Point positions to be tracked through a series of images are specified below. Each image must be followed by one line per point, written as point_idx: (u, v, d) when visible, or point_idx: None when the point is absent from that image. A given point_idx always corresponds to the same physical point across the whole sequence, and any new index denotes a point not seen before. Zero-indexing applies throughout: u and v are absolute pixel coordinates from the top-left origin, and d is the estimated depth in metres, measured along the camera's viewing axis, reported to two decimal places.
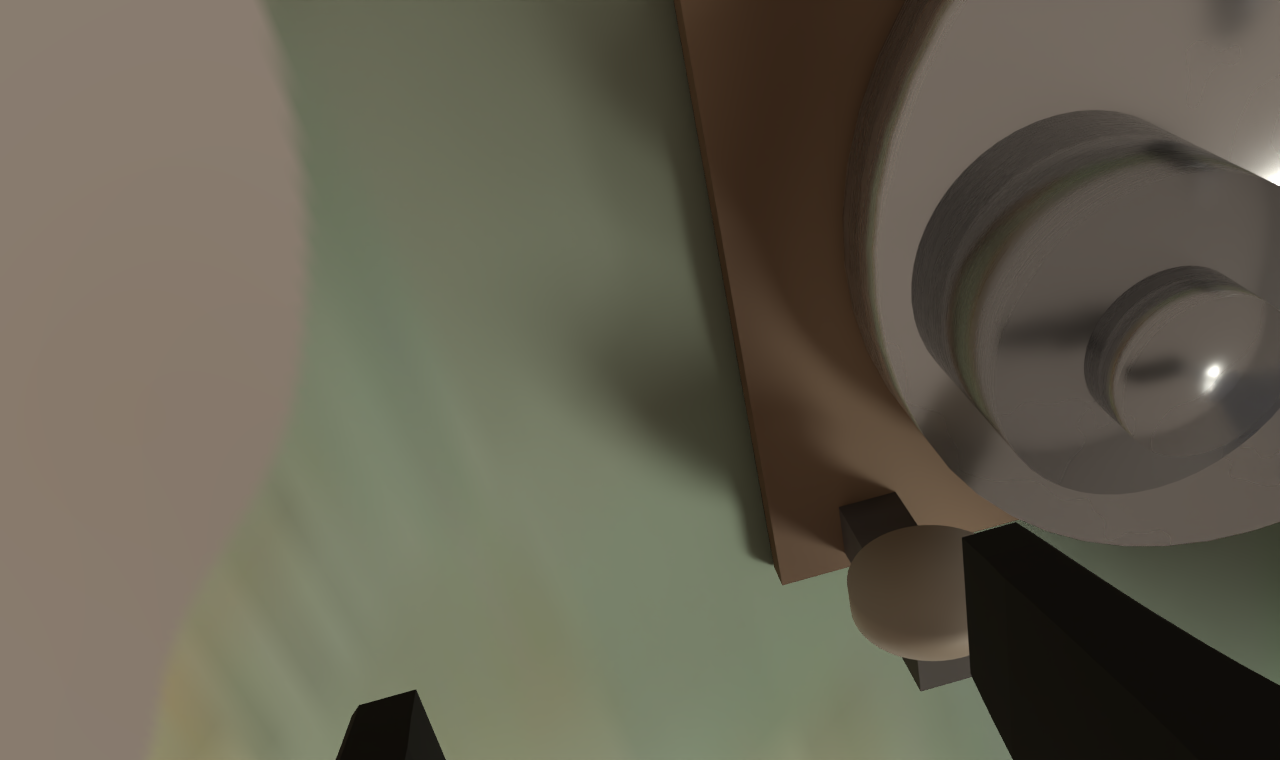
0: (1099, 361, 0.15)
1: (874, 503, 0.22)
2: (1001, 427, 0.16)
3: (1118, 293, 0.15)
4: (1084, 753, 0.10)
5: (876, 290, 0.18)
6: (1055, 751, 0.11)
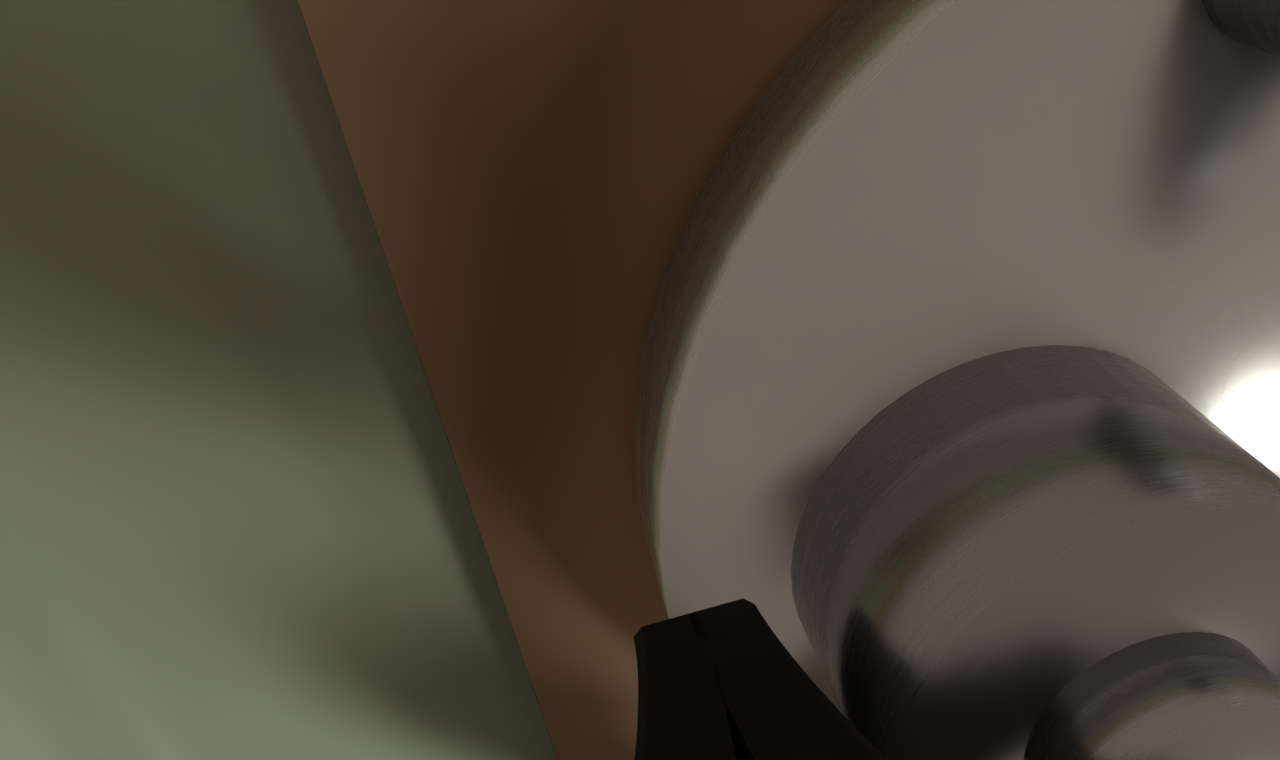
0: None
1: None
2: None
3: (1074, 674, 0.10)
4: None
5: (666, 598, 0.13)
6: None
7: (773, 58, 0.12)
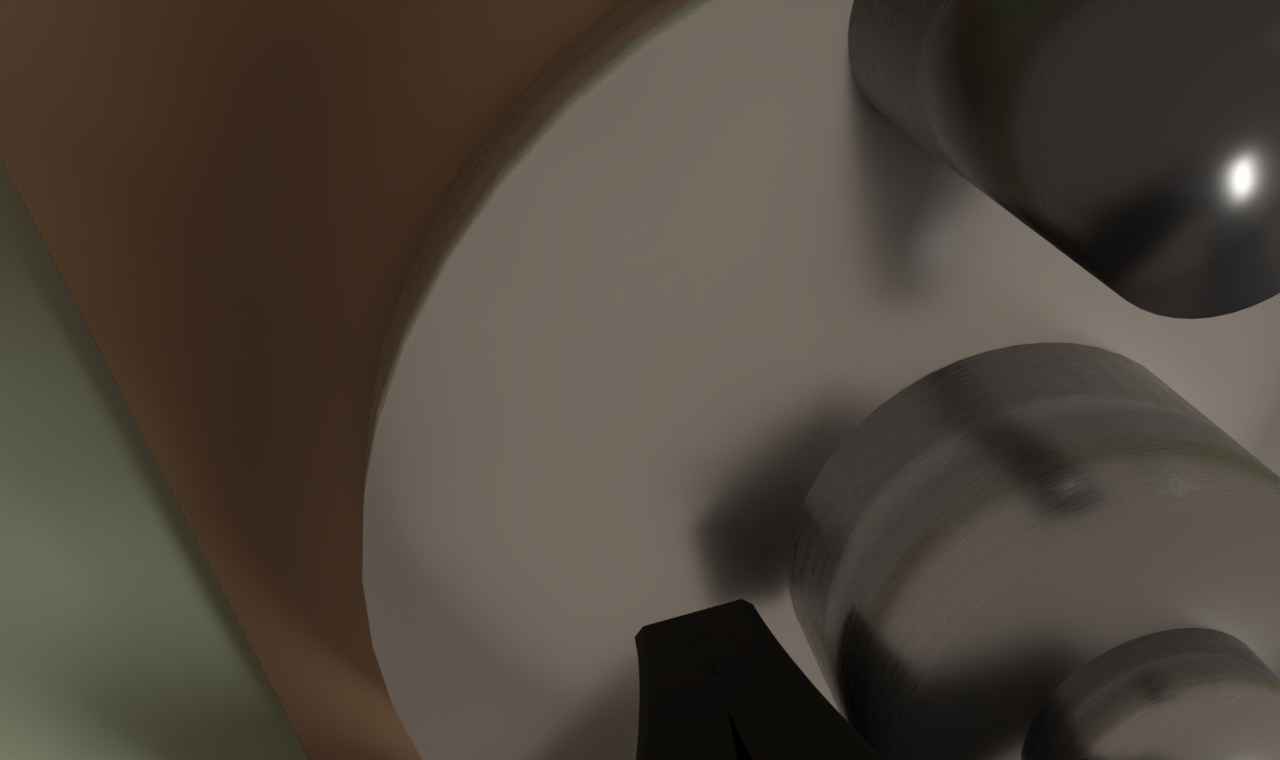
0: None
1: None
2: None
3: (1071, 670, 0.10)
4: None
5: None
6: None
7: (475, 135, 0.12)
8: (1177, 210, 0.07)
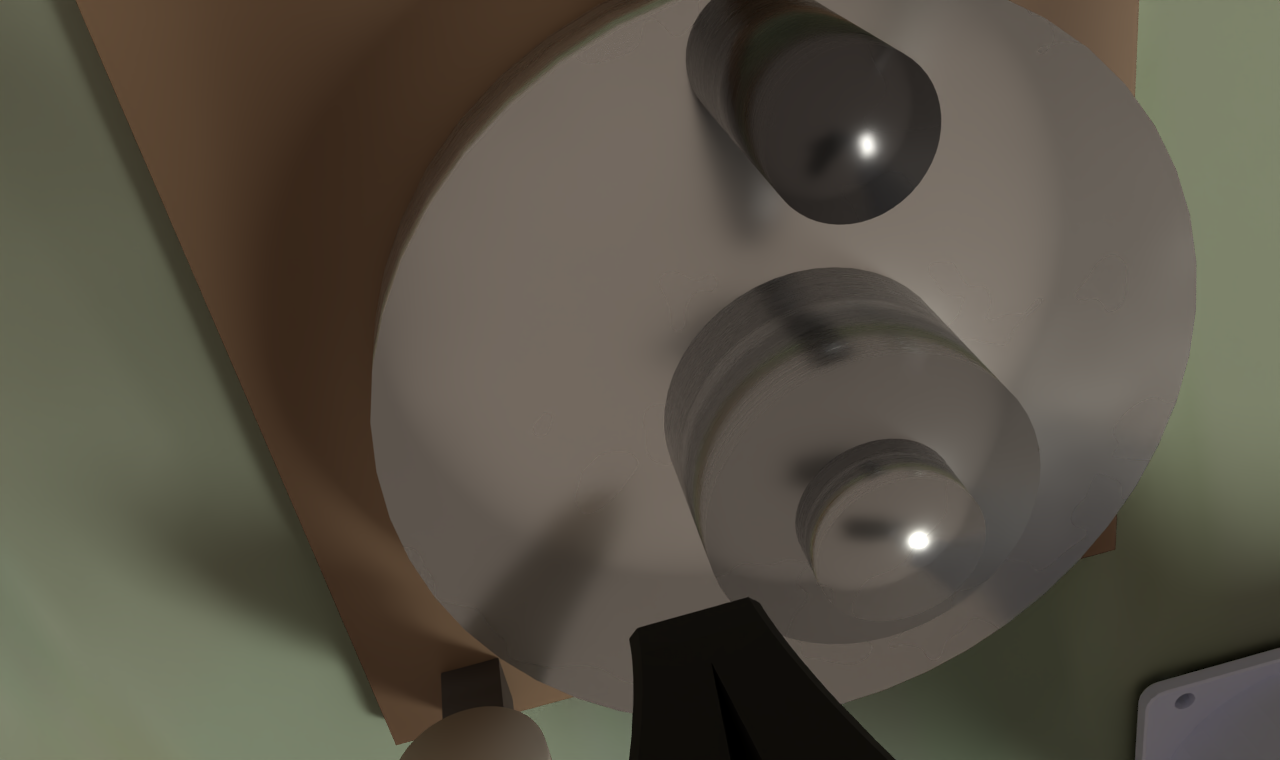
0: (803, 530, 0.16)
1: (473, 670, 0.23)
2: (720, 586, 0.16)
3: (822, 465, 0.15)
4: None
5: None
6: None
7: (450, 122, 0.17)
8: (820, 162, 0.12)
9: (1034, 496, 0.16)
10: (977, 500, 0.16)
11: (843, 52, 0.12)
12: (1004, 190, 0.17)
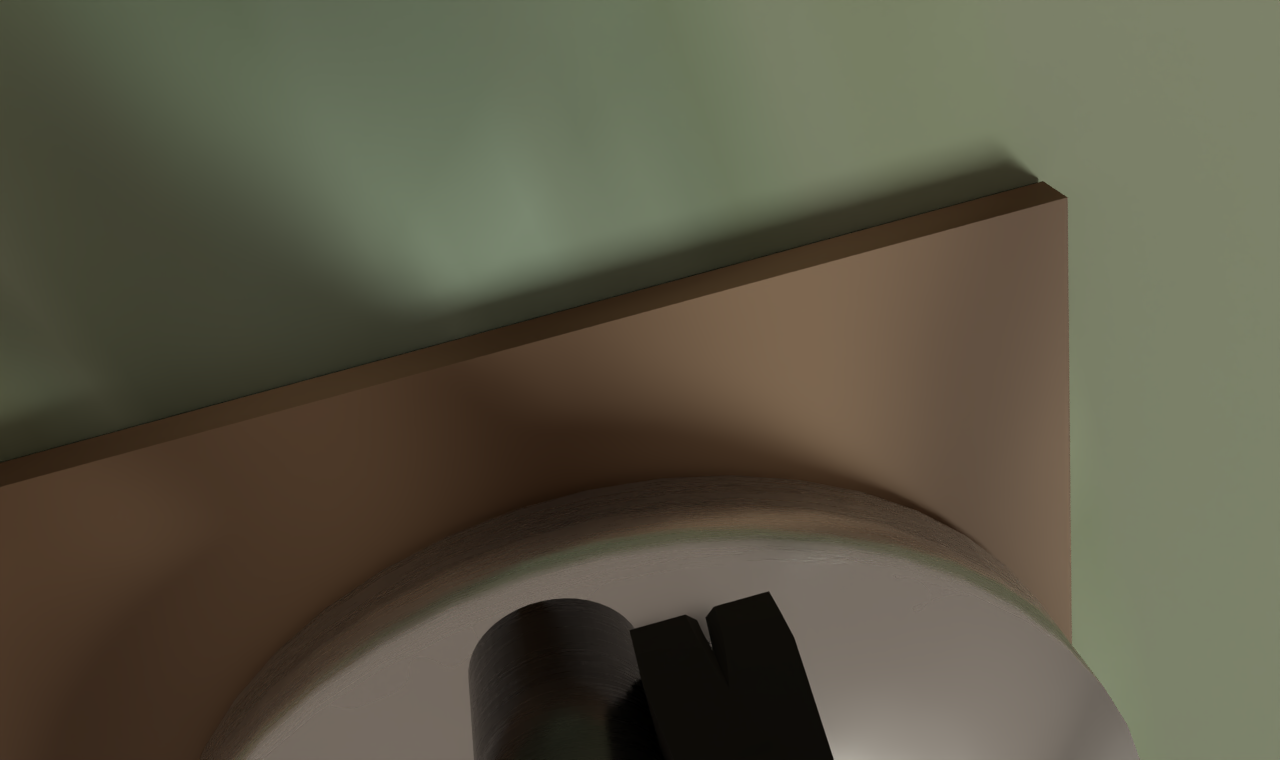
0: None
1: None
2: None
3: None
4: None
5: None
6: None
7: (243, 671, 0.15)
8: None
9: None
10: None
11: None
12: (892, 738, 0.14)
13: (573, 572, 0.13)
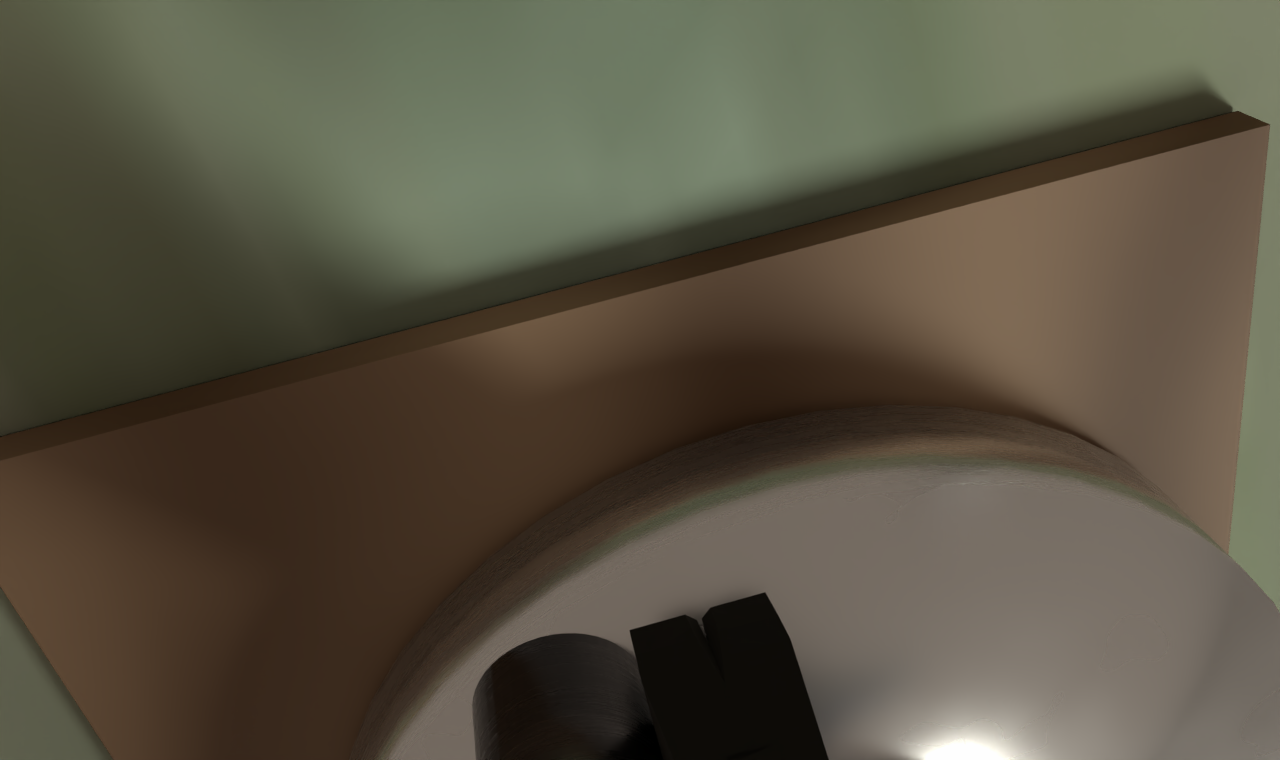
0: None
1: None
2: None
3: None
4: None
5: None
6: None
7: (424, 602, 0.15)
8: None
9: None
10: None
11: None
12: (940, 641, 0.14)
13: (532, 612, 0.13)
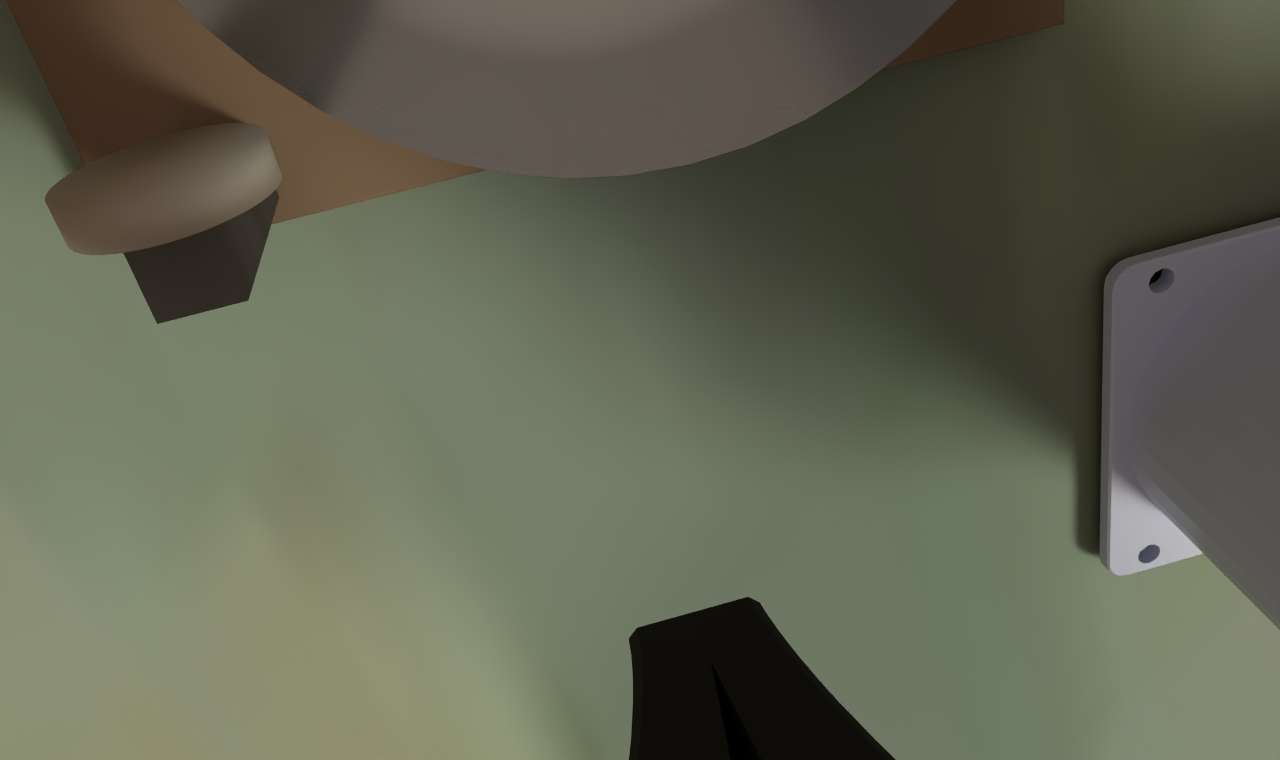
0: None
1: None
2: None
3: None
4: None
5: None
6: None
7: None
8: None
9: None
10: None
11: None
12: None
13: None
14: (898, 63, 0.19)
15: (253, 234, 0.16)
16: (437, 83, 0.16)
